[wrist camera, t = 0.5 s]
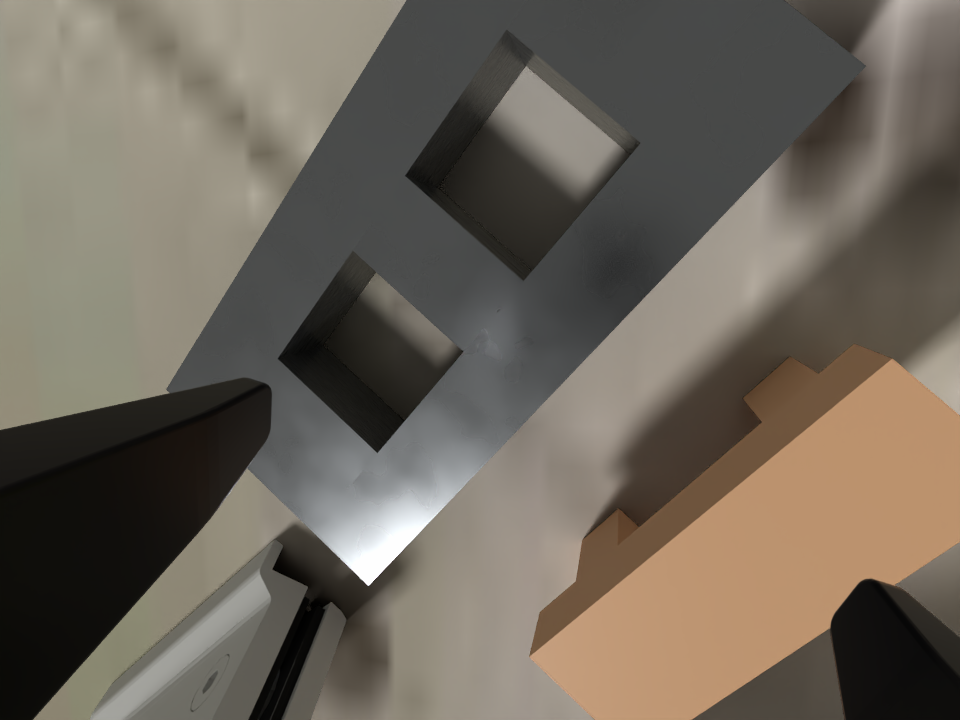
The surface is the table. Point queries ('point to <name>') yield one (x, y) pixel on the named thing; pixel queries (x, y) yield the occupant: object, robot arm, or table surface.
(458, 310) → the gray slotted slab
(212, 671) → the grey upright panel
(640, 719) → the tan wooden plank
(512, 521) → the table surface
